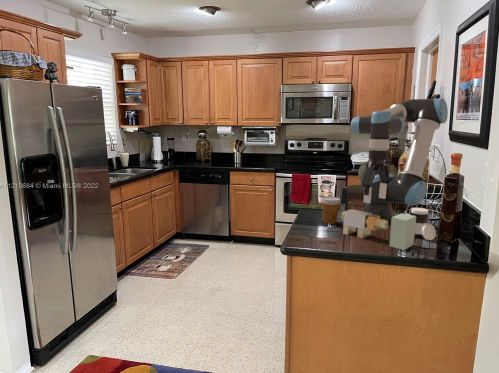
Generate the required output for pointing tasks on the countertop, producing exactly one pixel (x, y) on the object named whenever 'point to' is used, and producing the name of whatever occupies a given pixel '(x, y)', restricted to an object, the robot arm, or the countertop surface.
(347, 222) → the white blocky legged figure
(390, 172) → the vase
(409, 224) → the socket block
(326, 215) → the disposable coffee cup
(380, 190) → the robot arm
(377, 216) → the cylinder on square base
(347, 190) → the countertop surface
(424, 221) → the flanged pipe fitting
